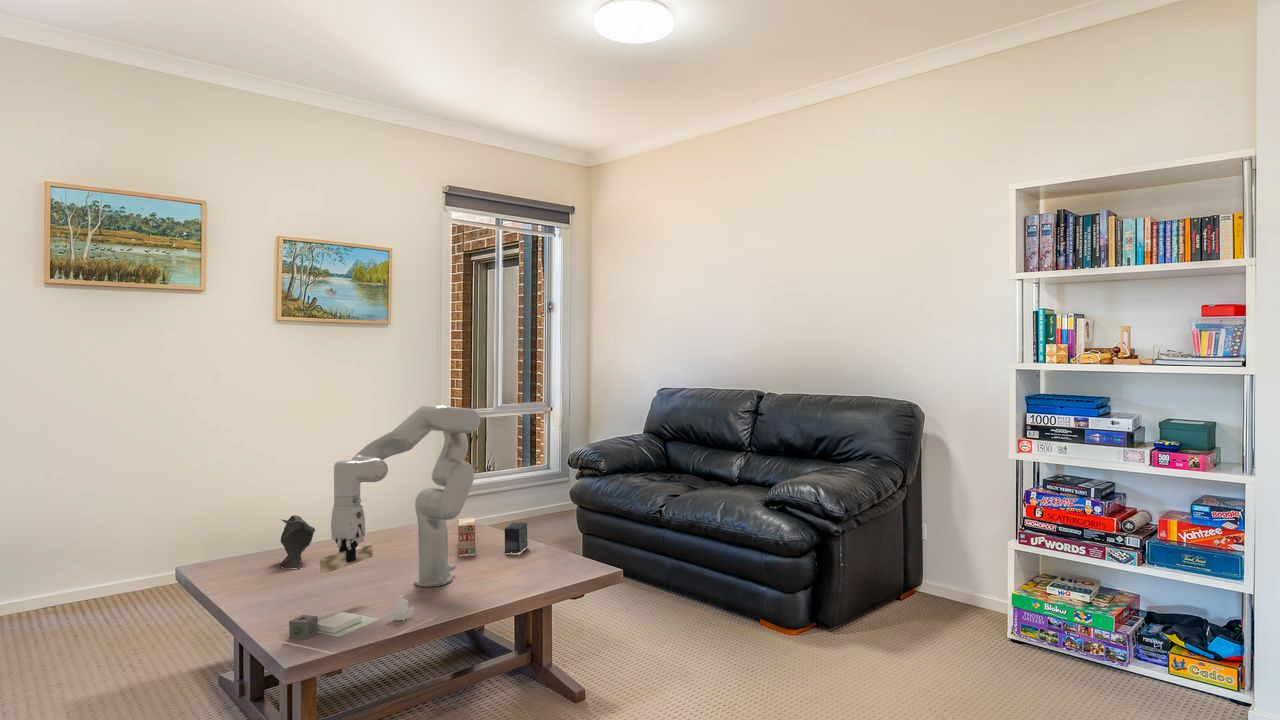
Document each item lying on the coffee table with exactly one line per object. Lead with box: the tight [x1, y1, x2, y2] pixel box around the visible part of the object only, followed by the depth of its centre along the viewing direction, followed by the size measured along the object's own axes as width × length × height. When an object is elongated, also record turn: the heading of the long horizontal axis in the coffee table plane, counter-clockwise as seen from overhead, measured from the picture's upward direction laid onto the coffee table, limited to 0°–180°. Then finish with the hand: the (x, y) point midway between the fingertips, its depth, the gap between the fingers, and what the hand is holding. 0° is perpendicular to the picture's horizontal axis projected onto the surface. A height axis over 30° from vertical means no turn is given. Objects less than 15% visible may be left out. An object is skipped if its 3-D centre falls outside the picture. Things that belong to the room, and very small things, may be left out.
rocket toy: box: [386, 593, 414, 623], centre depth 208 cm, size 5×5×8 cm
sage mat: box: [317, 611, 380, 638], centre depth 205 cm, size 15×14×1 cm
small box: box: [504, 522, 529, 554], centre depth 284 cm, size 11×6×10 cm, turn 172°
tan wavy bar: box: [319, 543, 373, 574], centre depth 221 cm, size 18×2×4 cm, turn 155°
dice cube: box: [288, 614, 319, 640], centre depth 197 cm, size 5×5×5 cm
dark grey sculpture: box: [279, 514, 316, 570], centre depth 271 cm, size 14×15×18 cm
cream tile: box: [318, 611, 362, 633], centre depth 204 cm, size 2×8×10 cm
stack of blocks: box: [457, 517, 476, 556], centre depth 288 cm, size 21×6×12 cm, turn 15°
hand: (347, 560), depth 221 cm, fingers closed on tan wavy bar, 2 cm apart
